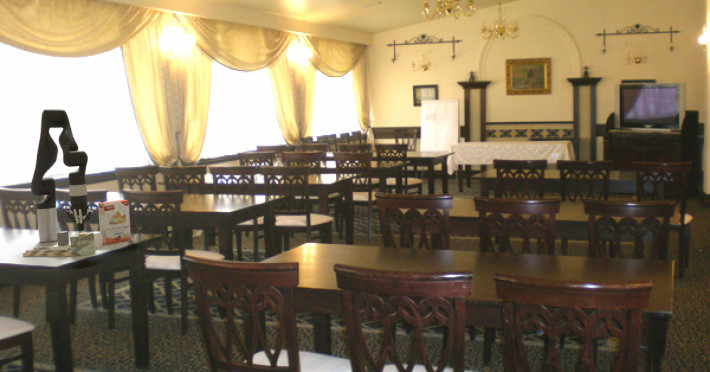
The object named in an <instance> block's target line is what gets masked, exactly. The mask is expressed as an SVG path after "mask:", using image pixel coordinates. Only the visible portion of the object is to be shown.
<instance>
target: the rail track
mask: <svg viewBox="0 0 710 372" xmlns="http://www.w3.org/2000/svg"><path fill="white" fill-rule="evenodd" d="M81 233H82V232H79V233H78V234H74V235H71V236H69V243H71V248H70V249H68V250H50V247H51V246H42V247H41V246H40V247H39V246H37V247H36V246H35V247H33V249H25V252H22V257H85V256H87V255H90V254H92V253H94V252H95V251H96V247H95V244H94V233H89V232H84V233H85V235H79V234H81Z"/></svg>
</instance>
